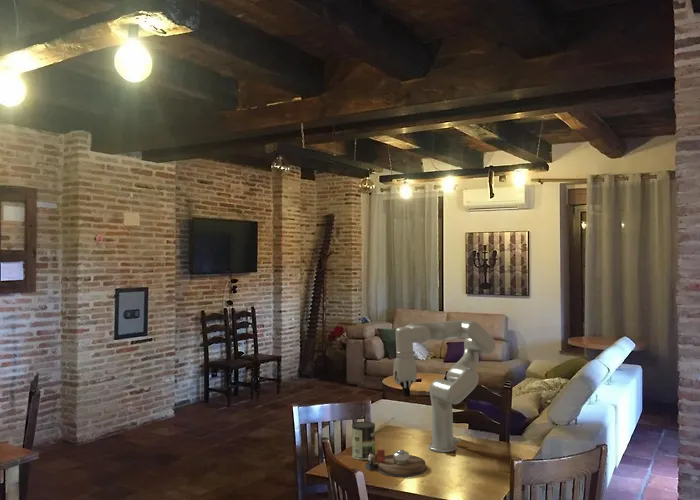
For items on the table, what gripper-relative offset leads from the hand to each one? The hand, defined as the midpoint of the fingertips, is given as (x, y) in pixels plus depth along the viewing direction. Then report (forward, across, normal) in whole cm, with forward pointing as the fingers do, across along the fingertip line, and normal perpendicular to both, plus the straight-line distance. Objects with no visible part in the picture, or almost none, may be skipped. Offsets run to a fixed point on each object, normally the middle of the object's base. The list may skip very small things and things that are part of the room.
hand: (406, 396), depth 260 cm
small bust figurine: (+26, +23, +5) cm, 35 cm away
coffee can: (+26, +18, -10) cm, 33 cm away
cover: (+24, +12, +12) cm, 29 cm away
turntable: (+26, +12, +12) cm, 31 cm away
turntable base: (+26, +12, +12) cm, 31 cm away
